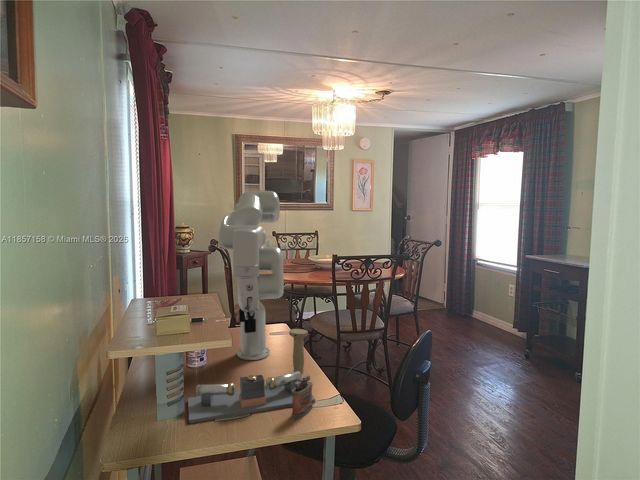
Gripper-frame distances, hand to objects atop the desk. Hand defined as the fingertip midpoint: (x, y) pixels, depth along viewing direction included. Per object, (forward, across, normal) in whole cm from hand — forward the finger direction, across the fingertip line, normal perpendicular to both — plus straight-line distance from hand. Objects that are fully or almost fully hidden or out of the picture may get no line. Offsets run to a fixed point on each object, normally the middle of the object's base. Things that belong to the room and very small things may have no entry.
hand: (247, 326), depth 123 cm
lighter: (+22, -14, -13) cm, 29 cm away
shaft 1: (+22, -2, +10) cm, 25 cm away
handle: (+23, +12, -19) cm, 32 cm away
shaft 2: (+22, -3, -10) cm, 25 cm away
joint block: (+19, -5, 0) cm, 20 cm away
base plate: (+22, -3, 0) cm, 23 cm away
